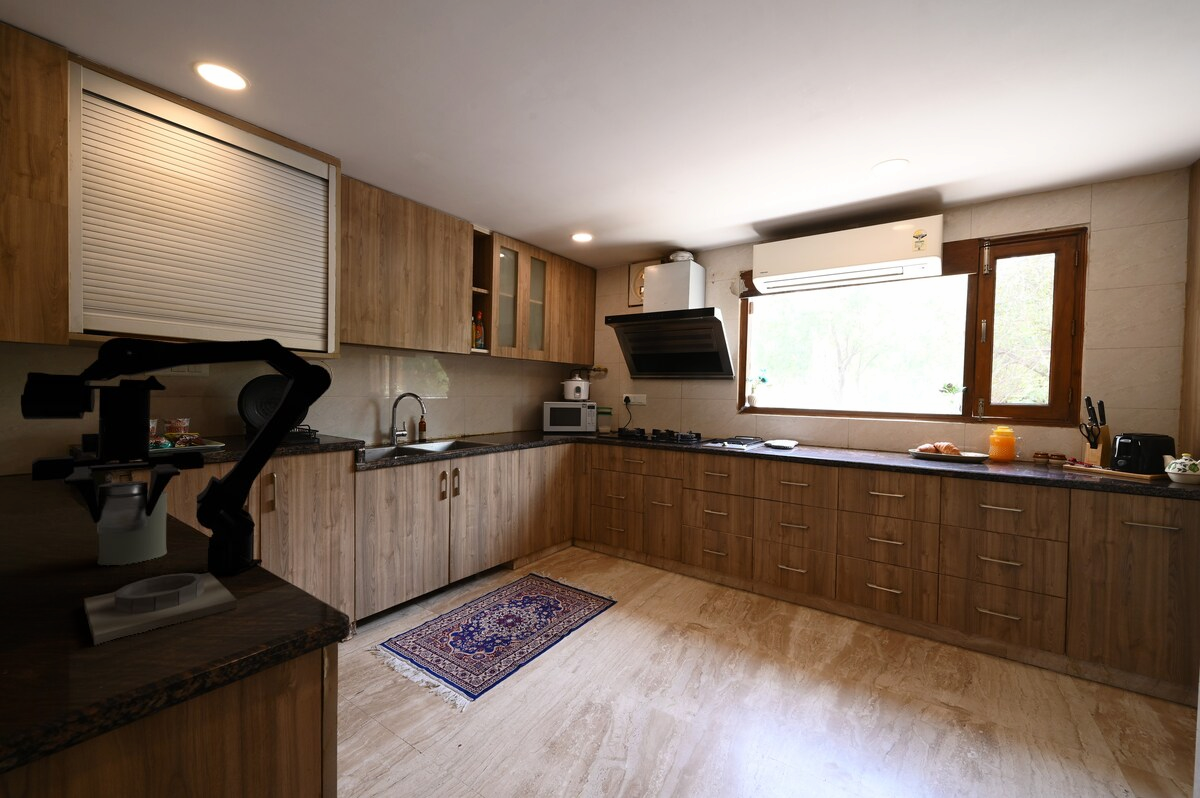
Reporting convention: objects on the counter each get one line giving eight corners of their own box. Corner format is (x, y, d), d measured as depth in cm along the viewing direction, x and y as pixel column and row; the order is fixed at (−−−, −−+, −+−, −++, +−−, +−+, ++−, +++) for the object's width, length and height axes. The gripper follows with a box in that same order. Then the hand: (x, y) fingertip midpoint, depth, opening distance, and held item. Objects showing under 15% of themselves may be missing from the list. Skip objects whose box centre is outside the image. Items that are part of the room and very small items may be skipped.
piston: (122, 524, 78) (123, 480, 78) (157, 524, 78) (157, 481, 78) (85, 533, 73) (86, 487, 73) (122, 534, 73) (123, 487, 73)
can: (118, 552, 92) (119, 489, 92) (177, 548, 95) (178, 487, 95) (83, 568, 83) (84, 498, 84) (149, 563, 86) (150, 496, 86)
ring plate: (84, 607, 68) (84, 584, 68) (209, 579, 79) (209, 560, 79) (94, 645, 58) (94, 618, 58) (236, 608, 69) (237, 585, 69)
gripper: (191, 416, 88) (189, 502, 88) (32, 418, 74) (30, 520, 74) (205, 418, 81) (203, 512, 81) (33, 421, 66) (30, 534, 66)
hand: (122, 519), depth 75 cm, fingers closed on piston, 5 cm apart
